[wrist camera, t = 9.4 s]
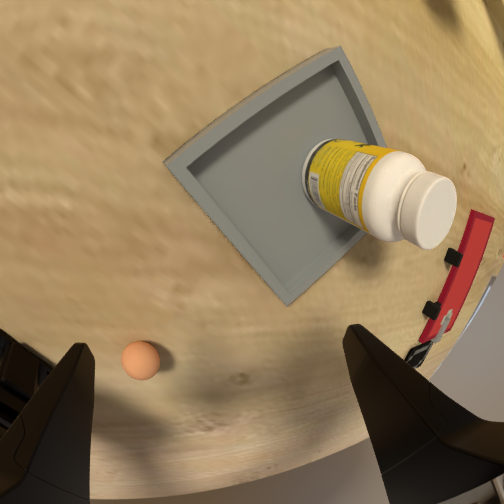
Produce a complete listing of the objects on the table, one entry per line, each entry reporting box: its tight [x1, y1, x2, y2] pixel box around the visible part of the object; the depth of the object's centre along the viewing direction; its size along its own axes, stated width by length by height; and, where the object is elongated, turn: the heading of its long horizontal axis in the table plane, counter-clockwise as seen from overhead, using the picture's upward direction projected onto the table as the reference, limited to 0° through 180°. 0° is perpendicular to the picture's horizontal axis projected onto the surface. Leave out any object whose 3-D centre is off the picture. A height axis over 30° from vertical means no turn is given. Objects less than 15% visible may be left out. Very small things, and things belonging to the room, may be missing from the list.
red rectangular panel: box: [405, 209, 495, 369], centre depth 40 cm, size 30×3×15 cm
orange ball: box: [121, 341, 160, 380], centre depth 20 cm, size 3×3×3 cm
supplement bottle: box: [302, 138, 457, 250], centre depth 17 cm, size 5×5×10 cm
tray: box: [163, 46, 387, 306], centre depth 20 cm, size 14×14×2 cm
